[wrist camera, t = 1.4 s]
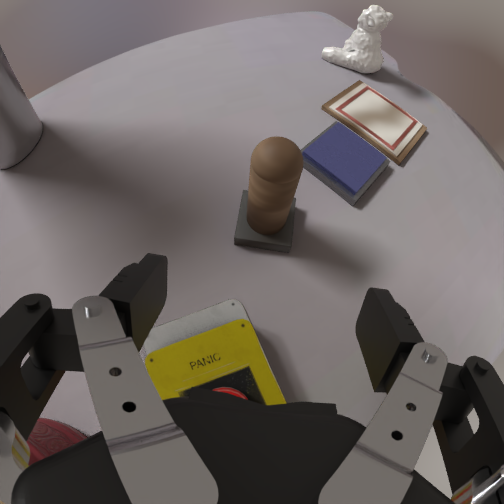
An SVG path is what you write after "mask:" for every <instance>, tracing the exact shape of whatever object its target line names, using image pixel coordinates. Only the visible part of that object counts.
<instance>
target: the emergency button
mask: <svg viewBox="0 0 504 504" xmlns="http://www.w3.org/2000/svg"><path fill="white" fill-rule="evenodd" d="M143 346H144V349H145V352H146V354H147V356H146V358H145V366H146V368H147V371H148V374H149V376H150V378H151V380H152V382H153V384H154V386H155V388H156V390H157V391H158V393H159V395H160V397H161V399H162V400H165V399H169V398H175V397H189V395H190V391H191V388H192V387H197V388H202V389H208V390H213V391H219V392H225V393H229V394H232V395H235V396H238V397H241V398H244V399H247V400H250V401H253V402H256V403H259V404H262V405H276V404H286V401H285V398H284V396H283V394H282V392H281V390H280V387H279V385H278V383H277V381H276V378H275V376H274V374H273V372H272V369H271V367H270V365H269V363H268V360H267V358H266V356H265V354H264V351H263V349H262V347H261V344H260V342H259V340H258V338H257V335H256V333H255V331H254V328H253V326H252V324H251V323H250V321H249V319H248V316H247V314H246V312H245V309H244V307H243V306H242V304H241V303H240V302H239V301H237V300H235V299H230V300H226V301H224V302H221V303H218V304H216V305H213V306H210V307H208V308H205V309H203V310H200V311H197V312H195V313H192V314H189V315H186V316H184V317H181V318H178V319H176V320H173V321H170V322H168V323H165V324H162V325H159V326H157V327H154V328H152V329H151V331H150V333H149V335H148V336H147V338H146V340H145V342H144V344H143Z"/></svg>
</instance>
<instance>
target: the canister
mask: <svg viewBox="0 0 504 504" xmlns="http://www.w3.org/2000/svg"><path fill="white" fill-rule="evenodd" d="M86 438H87V437H86V436H85V435H83V434H82V433H81V432H79V431H78V430H76V429H75V428H73V427H71V426H69V425H67V424H65V423H62V422H59V421H55V420H50V419H46V418H38V420H37V422H36V424H35V426H34V428H33V430H32V432H31V434H30V435H29V437H28V439H27V441H26V442H27V444H28V446H29V449H30V459H29V463H28V465H29V466H30V465H31V464H33V463H35V462H37V461H39V460H42V459H44V458H46V457H48V456H50V455H53V454H55V453H57V452H59V451H61V450H63V449H66V448H68V447H70V446H72V445H74V444H76V443H78V442H80V441H82V440H84V439H86Z"/></svg>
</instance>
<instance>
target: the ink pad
mask: <svg viewBox="0 0 504 504" xmlns="http://www.w3.org/2000/svg"><path fill="white" fill-rule="evenodd" d="M300 151H301V153H302V156H303V167H304V168H305V169H306V170H308V171H309V172H310V173H312V174H313V175H314V176H315V177H317V178H318V179H319V180H321V181H322V182H323V183H324V184H326V185H327V186H328V187H330V188H331V189H332V190H333V191H335V192H336V193H337V194H338V195H339V196H341V197H342V198H343V199H344V200H346V201H347V202H348V203H349V204H351V205H352V206H353V205H354V204H355V203H356V202H357V201H358V200H359V198H360V197H361V196H362V195H363V194H364V193H365V192H366V190H367V189H368V188H369V187H370V186H371V185H372V183H373V182H374V181H375V180H376V179H377V178H378V176H379V175H380V174H381V173H382V172H383V171H384V169H385V168H386V167H387V166H388V164H389V163H390V161H389V160H388V159H387V157H385V156H384V155H383V154H382V153H380V152H379V151H378V150H376V149H375V148H374V147H372V146H371V145H370V144H368V143H367V142H366V141H364V140H363V139H362V138H360V137H359V136H358V135H356V134H355V133H353V132H352V131H351V130H349V129H348V128H346V127H345V126H344V125H342V124H341V123H339V122H334V123H333V124H332V125H331V126H329V127H328V128H327V129H326V130H324V131H323V132H322V133H321V134H320V135H318V136H317V137H316V138H315V139H313V140H312V141H311V142H310V143H308V144H307V145H306V146H305V147H304V148H302V149H301V150H300Z"/></svg>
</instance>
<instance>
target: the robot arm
mask: <svg viewBox="0 0 504 504" xmlns="http://www.w3.org/2000/svg"><path fill="white" fill-rule="evenodd" d="M42 130H43V126H42V122H41V121H40V119H39V117H38V116H37V114H36V112H35V110H34V109H33V107H32V105H31V103H30V101H29V100H28V98H27V96H26V94H25V92H24V91H23V89H22V87H21V85H20V83H19V81H18V80H17V78H16V76H15V74H14V72H13V70H12V68H11V66H10V64H9V62H8V60H7V58H6V56H5V54H4V52H3V50H2V48H1V46H0V169H6V168H9V167H12V166H14V165H15V164H17V163H19V162H20V161H21V160H22V159H24V158H25V157H26V156H27V155H28V154H29V153H30V152H31V151H32V149H33V148H34V147H35V146H36V144H37V142H38V141H39V139H40V137H41V134H42ZM167 265H168V261H167V257H166V256H163V255H157V254H151V253H148V254H147V255H146V256H145V257H144V258H143V259H142V260H141V261H140V262H139V264H137V263H133V264H131V265H128V266H126V267H124V268H123V269H122V270H121V271H120V272H119V273H118V276H116V277H115V278H114V279H113V281H111V282H110V283H109V284H108V286H107V287H106V288H105V289H104V290H103V291H102V292H101V293H100V295H99V296H89V297H85V298H82V299H80V300H78V301H77V302H76V303H75V304H74V305H73V307H72V309H53V308H52V304H51V300H50V298H49V297H48V296H46V295H43V294H29V295H26V296H24V297H22V298H20V299H19V300H18V301H17V302H16V303H15V304H14V305H13V306H12V307H11V308H10V309H9V310H8V311H7V312H6V313H5V314H4V315H3V316H2V317H1V318H0V504H504V384H503V383H502V381H501V379H500V378H499V376H498V374H497V373H496V371H495V369H494V368H493V366H492V365H491V364H490V363H489V362H488V361H486V360H485V359H483V358H480V357H477V356H471V357H469V358H467V360H466V362H465V363H464V365H463V366H459V365H455V364H451V363H448V359H447V356H446V354H445V353H444V352H443V351H442V350H441V349H440V348H438V347H437V346H435V345H433V344H430V343H425V342H424V340H423V338H422V337H421V335H420V333H419V331H418V330H417V328H416V326H414V323H413V321H412V320H411V319H410V316H409V315H408V313H407V311H406V310H405V309H404V308H403V307H402V306H401V305H399V304H398V303H396V302H395V301H394V299H393V297H392V295H391V294H390V292H389V291H388V290H386V289H379V288H369V289H368V291H367V293H366V296H365V299H364V302H363V305H362V308H361V310H360V313H359V316H358V319H357V322H356V336H357V339H358V342H359V345H360V348H361V351H362V354H363V357H364V360H365V364H366V367H367V370H368V373H369V376H370V380H371V383H372V386H373V390H374V392H386V393H387V396H386V398H385V399H384V401H383V403H382V404H381V406H380V407H379V409H378V411H377V412H376V414H375V415H374V417H373V419H372V420H371V422H370V423H369V425H368V426H367V428H366V427H364V426H363V425H362V424H360V423H358V422H356V421H355V420H352V419H350V418H348V417H345V416H342V415H338V414H337V410H336V404H330V403H313V402H295V403H286V404H276V405H262V404H259V403H256V402H253V401H250V400H247V399H244V398H241V397H238V396H235V395H232V394H229V393H225V392H219V391H213V390H208V389H202V388H197V387H192V388H191V391H190V395H189V397H175V398H169V399H165V400H162V399H161V397H160V395H159V393H158V391H157V390H156V388H155V386H154V384H153V382H152V380H151V378H150V376H149V374H148V372H147V370H146V367H145V365H144V363H143V361H142V359H141V357H140V355H139V352H140V350H141V348H142V346H143V344H144V342H145V340H146V338H147V336H148V335H149V333H150V331H151V329H152V327H153V325H154V323H155V322H156V320H157V318H158V316H159V314H160V312H161V311H162V309H163V307H164V305H165V301H166V297H167ZM28 352H29V355H30V356H29V358H28V359H27V360H26V362H25V363H24V364H23V366H22V367H21V362H22V360H23V358H24V357H25V355H26V354H27V353H28ZM65 371H80V372H85V376H86V379H87V383H88V387H89V390H90V394H91V397H92V401H93V404H94V407H95V411H96V414H97V417H98V420H99V423H100V426H101V429H102V431H100V432H98V433H96V434H94V435H92V436H90V437H88V438H86V439H84V440H82V441H80V442H78V443H76V444H74V445H72V446H70V447H68V448H66V449H63V450H61V451H59V452H57V453H55V454H53V455H50V456H48V457H46V458H44V459H42V460H39V461H37V462H35V463H33V464H31V465H30V466H29V465H28V463H29V459H30V449H29V446H28V444H27V442H26V441H27V439H28V437H29V435H30V434H31V432H32V430H33V428H34V426H35V424H36V422H37V420H38V418H39V417H40V415H41V413H42V411H43V409H44V407H45V406H46V404H47V402H48V400H49V399H50V397H51V395H52V393H53V392H54V390H55V388H56V386H57V385H58V383H59V381H60V380H61V378H62V376H63V375H64V373H65ZM473 408H475V411H476V413H477V415H478V417H479V428H478V430H477V432H476V433H475V434H473V431H472V429H471V426H470V424H469V421H468V419H467V416H468V414H469V413H470V412H471V411H472V409H473ZM432 424H433V427H434V429H435V433H436V436H437V439H438V443H439V446H440V449H441V453H442V456H443V460H444V463H445V467H446V471H447V475H448V478H449V482H450V486H451V490H452V494H453V495H452V498H451V500H450V499H449V498H448V497H447V496H445V495H444V494H443V493H442V492H441V491H439V490H438V489H437V488H436V487H434V486H433V485H432V484H431V483H430V482H428V481H427V480H426V479H425V478H424V477H422V476H421V475H420V474H419V473H418V472H417V471H415V470H414V467H415V465H416V462H417V460H418V458H419V456H420V453H421V451H422V449H423V446H424V444H425V442H426V439H427V437H428V434H429V432H430V429H431V426H432Z"/></svg>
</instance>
